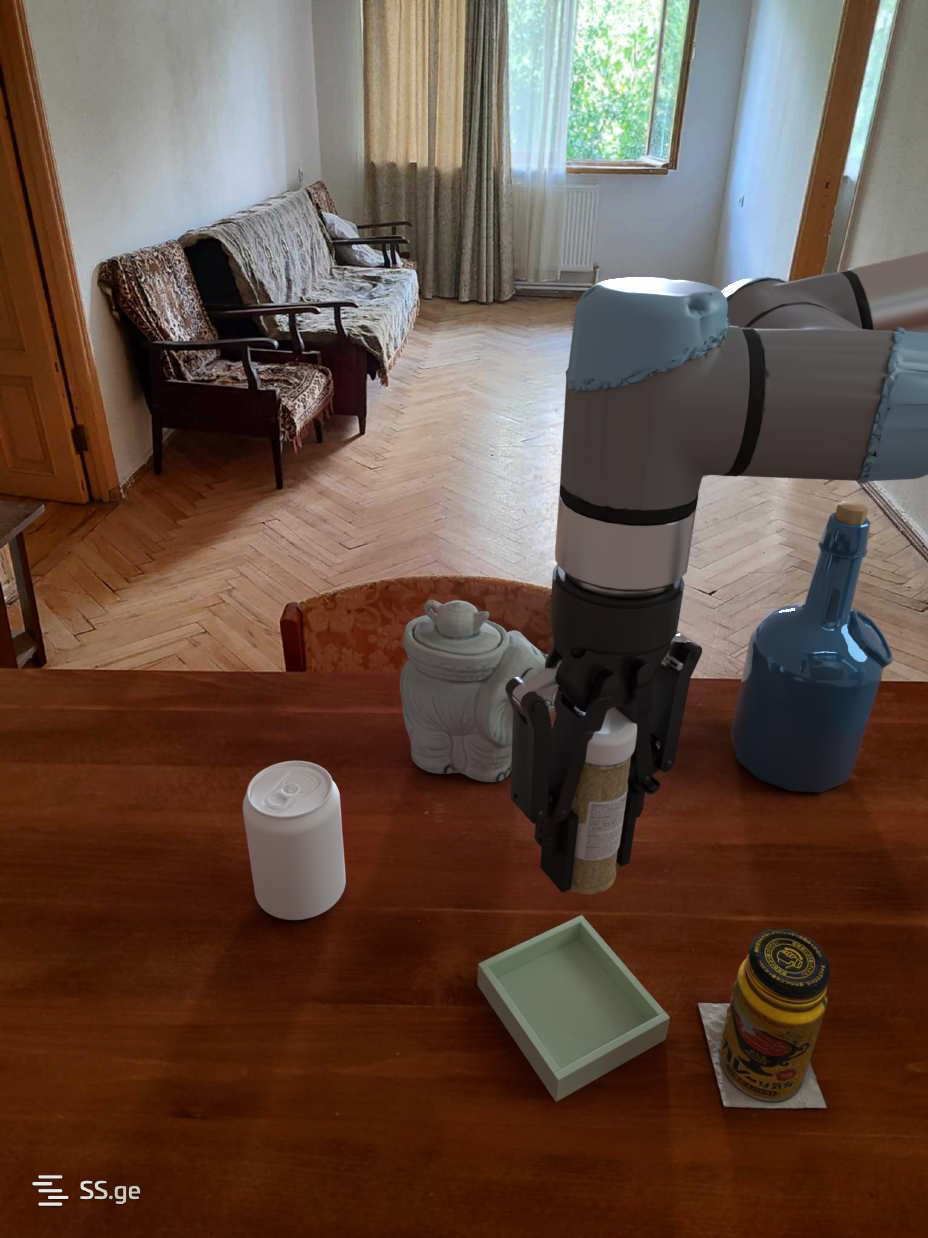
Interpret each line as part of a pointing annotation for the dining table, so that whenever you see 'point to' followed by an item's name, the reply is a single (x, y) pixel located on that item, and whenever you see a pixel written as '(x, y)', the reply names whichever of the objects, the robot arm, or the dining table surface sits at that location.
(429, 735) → the elephant cookie jar
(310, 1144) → the dining table surface
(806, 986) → the condiment
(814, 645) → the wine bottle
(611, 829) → the sprinkles bottle
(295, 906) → the beverage can
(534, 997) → the tray
